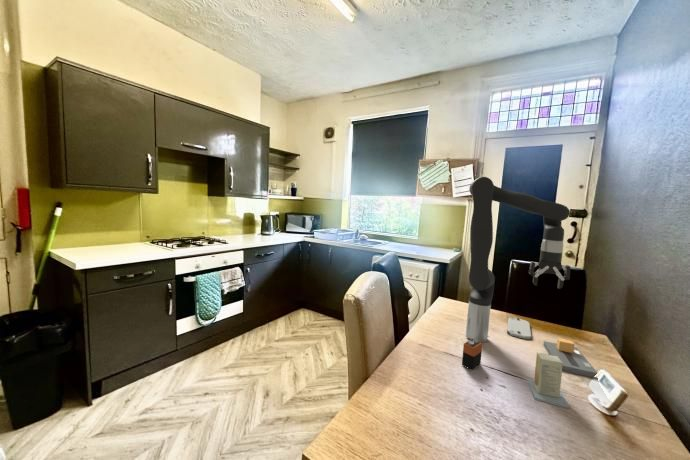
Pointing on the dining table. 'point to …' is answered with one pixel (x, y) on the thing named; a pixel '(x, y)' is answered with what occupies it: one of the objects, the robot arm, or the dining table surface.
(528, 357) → the dining table surface
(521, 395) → the dining table surface
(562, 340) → the slider tab
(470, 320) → the robot arm
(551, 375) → the skincare box
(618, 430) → the dining table surface
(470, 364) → the battery
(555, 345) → the switch panel
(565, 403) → the mat
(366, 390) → the dining table surface
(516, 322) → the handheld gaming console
